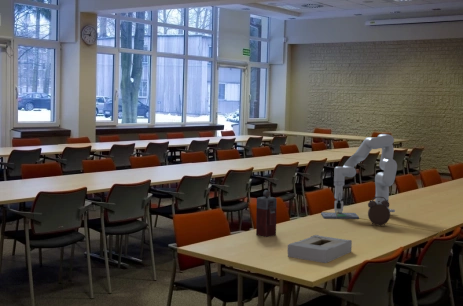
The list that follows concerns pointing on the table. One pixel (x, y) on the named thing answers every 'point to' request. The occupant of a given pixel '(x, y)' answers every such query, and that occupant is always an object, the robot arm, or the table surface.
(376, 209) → the alarm clock
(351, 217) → the plate
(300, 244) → the box
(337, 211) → the peg
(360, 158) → the robot arm
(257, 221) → the maroon square bottle
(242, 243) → the table surface
